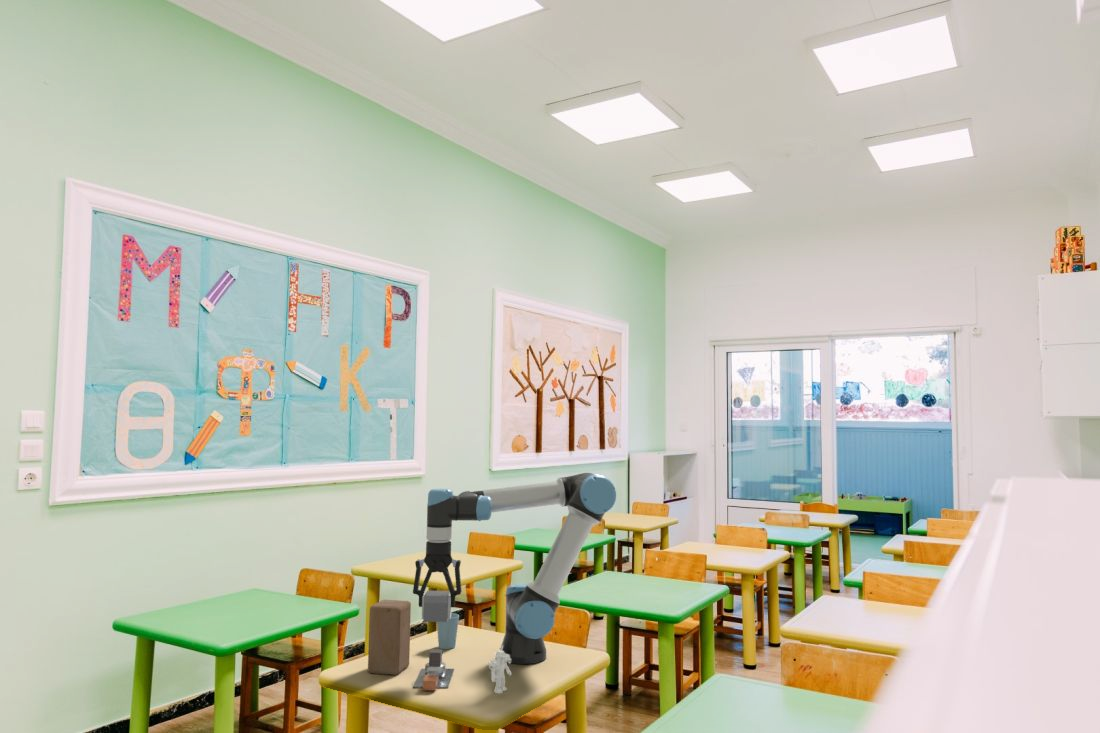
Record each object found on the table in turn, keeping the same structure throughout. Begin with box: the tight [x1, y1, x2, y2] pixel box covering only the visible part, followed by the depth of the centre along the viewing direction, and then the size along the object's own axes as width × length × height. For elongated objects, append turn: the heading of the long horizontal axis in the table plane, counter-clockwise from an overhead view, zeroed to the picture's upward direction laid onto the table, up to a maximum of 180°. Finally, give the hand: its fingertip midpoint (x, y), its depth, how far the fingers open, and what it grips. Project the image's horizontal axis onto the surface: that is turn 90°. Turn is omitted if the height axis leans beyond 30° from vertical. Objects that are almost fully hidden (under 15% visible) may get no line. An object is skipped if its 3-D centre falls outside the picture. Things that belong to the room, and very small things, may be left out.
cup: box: [436, 612, 460, 650], centre depth 251 cm, size 8×8×10 cm
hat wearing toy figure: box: [488, 646, 512, 694], centre depth 209 cm, size 9×4×12 cm, turn 148°
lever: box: [412, 648, 455, 691], centre depth 217 cm, size 10×19×7 cm, turn 1°
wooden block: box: [367, 599, 412, 676], centre depth 227 cm, size 10×10×20 cm
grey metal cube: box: [422, 590, 451, 623], centre depth 222 cm, size 7×7×8 cm
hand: (436, 617), depth 222 cm, fingers closed on grey metal cube, 7 cm apart
